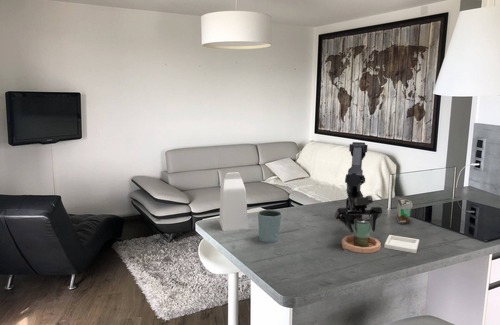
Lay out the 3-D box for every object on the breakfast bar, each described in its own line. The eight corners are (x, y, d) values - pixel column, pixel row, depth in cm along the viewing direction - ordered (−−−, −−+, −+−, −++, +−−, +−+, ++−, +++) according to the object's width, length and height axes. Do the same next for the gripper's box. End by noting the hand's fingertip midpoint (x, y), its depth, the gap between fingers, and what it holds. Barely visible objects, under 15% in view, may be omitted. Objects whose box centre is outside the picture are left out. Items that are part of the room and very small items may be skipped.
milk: (222, 230, 185) (221, 176, 180) (219, 222, 196) (218, 170, 191) (248, 228, 187) (247, 174, 182) (243, 220, 198) (243, 169, 193)
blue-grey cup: (254, 236, 177) (254, 210, 175) (274, 233, 181) (274, 208, 179) (264, 244, 168) (264, 217, 166) (285, 241, 172) (285, 214, 170)
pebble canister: (351, 246, 163) (352, 221, 161) (355, 241, 169) (356, 216, 167) (367, 249, 161) (368, 223, 159) (370, 244, 166) (371, 218, 164)
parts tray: (384, 250, 162) (384, 244, 162) (388, 240, 173) (389, 234, 172) (415, 255, 157) (416, 249, 157) (418, 245, 167) (419, 239, 167)
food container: (413, 225, 191) (415, 205, 189) (400, 224, 192) (401, 204, 191) (408, 217, 203) (410, 198, 201) (396, 216, 204) (397, 197, 202)
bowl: (338, 250, 162) (338, 244, 161) (347, 238, 175) (347, 232, 174) (376, 258, 155) (376, 251, 154) (382, 244, 168) (383, 238, 167)
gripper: (338, 189, 163) (345, 223, 155) (382, 188, 165) (392, 222, 156) (332, 202, 173) (338, 235, 164) (374, 201, 174) (382, 234, 165)
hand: (362, 231), depth 162 cm, fingers open, 9 cm apart
